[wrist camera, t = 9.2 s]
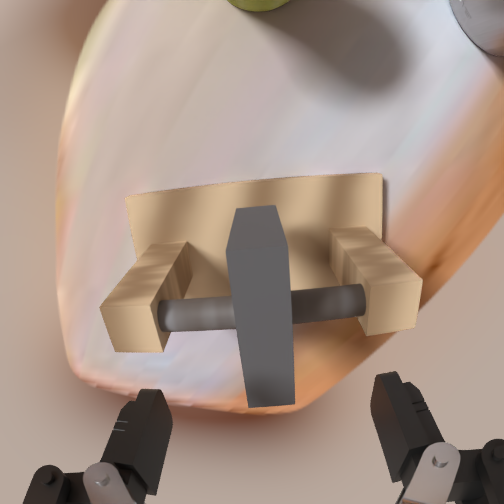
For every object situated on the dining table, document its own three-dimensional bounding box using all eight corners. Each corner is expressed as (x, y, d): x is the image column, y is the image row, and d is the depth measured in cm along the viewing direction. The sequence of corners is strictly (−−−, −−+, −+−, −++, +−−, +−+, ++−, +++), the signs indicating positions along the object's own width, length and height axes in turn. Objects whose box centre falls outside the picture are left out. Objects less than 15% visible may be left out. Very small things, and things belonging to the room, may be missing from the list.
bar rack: (377, 172, 24) (453, 203, 13) (373, 295, 28) (423, 374, 17) (129, 195, 25) (56, 239, 14) (155, 314, 28) (115, 398, 18)
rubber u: (275, 204, 20) (287, 245, 13) (284, 325, 23) (295, 404, 16) (236, 208, 20) (225, 251, 13) (250, 328, 23) (248, 407, 16)
